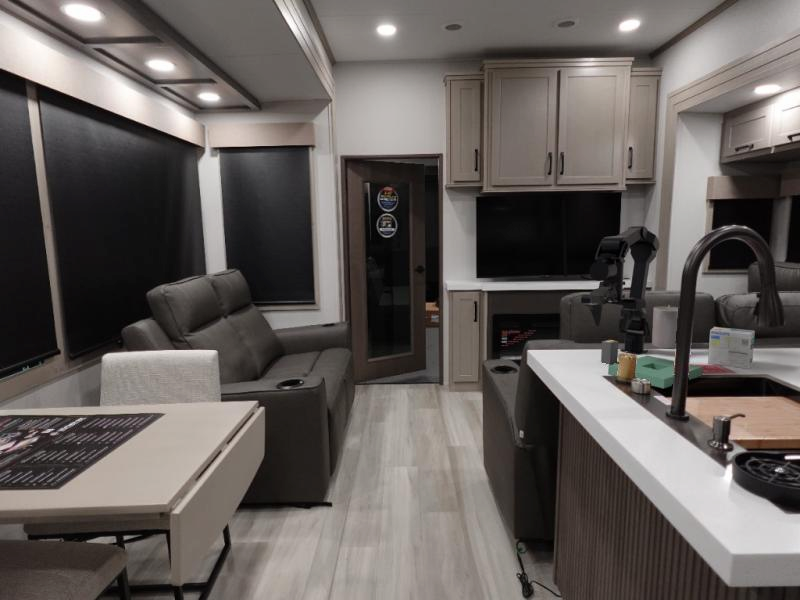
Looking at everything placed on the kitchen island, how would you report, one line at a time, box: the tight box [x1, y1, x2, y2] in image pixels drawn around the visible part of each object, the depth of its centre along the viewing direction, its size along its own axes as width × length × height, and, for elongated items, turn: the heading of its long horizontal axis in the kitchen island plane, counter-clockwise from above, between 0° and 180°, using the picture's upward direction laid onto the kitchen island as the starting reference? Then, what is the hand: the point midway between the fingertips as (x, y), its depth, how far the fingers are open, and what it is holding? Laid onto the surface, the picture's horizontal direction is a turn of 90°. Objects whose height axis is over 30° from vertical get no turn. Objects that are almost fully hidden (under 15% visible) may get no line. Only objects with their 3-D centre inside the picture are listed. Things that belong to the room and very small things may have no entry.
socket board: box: [607, 355, 704, 389], centre depth 136 cm, size 20×16×2 cm
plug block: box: [600, 339, 619, 366], centre depth 148 cm, size 4×3×7 cm
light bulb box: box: [707, 326, 756, 370], centre depth 145 cm, size 11×7×11 cm, turn 47°
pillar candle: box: [651, 304, 679, 350], centre depth 169 cm, size 10×10×15 cm
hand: (610, 328), depth 147 cm, fingers open, 9 cm apart
